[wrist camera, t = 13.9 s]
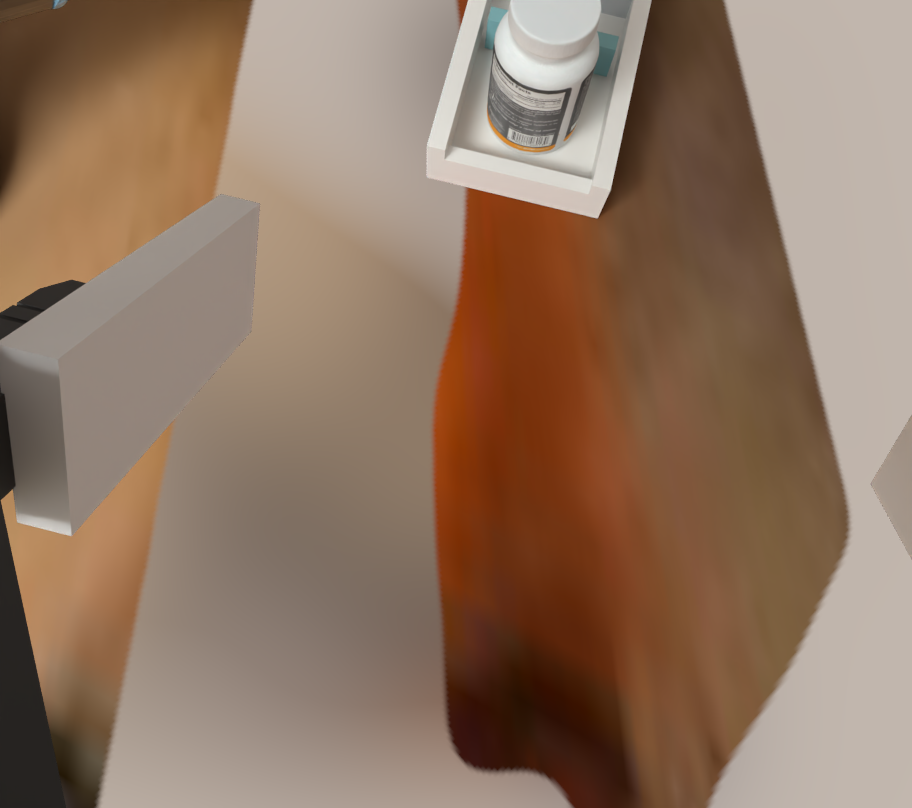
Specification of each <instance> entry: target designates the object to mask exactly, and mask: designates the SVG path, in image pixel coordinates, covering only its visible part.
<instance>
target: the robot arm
mask: <svg viewBox="0 0 912 808" xmlns="http://www.w3.org/2000/svg"><path fill="white" fill-rule="evenodd" d="M67 1H68V0H0V23H1V22H5V21H8V20H12V19H15V18H19V17H22V16H26V15H30V14H33V13H37V12H40V11H44V10H48V9H57V8H61V7H62V6H64V5H65V4H66V3H67ZM259 211H260V203H256V202H252V201H248V200H244V199H240V198H236V197H231V196H228V195H223V194H220V195H219V196H217V197H216V198H214V199H213V200H211V201H210V202H208V203H207V204H205V205H204V206H202V207H201V208H199V209H198V210H196V211H195V212H193V213H191V214H190V215H188V216H187V217H185V218H184V219H182V220H181V221H179V222H178V223H176V224H175V225H173V226H172V227H170V228H169V229H167V230H166V231H164V232H163V233H161V234H160V235H158V236H157V237H155V238H154V239H152V240H151V241H149V242H148V243H146V244H145V245H143V246H142V247H140V248H139V249H137V250H136V251H134V252H133V253H131V254H130V255H128V256H127V257H125V258H124V259H122V260H121V261H119V262H118V263H116V264H115V265H113V266H111V267H110V268H108V269H107V270H105V271H104V272H102V273H101V274H99V275H98V276H96V277H95V278H93V279H92V280H90V281H89V282H87V283H83V282H79V281H75V280H69V281H66V282H62V283H58V284H55V285H51V286H48V287H44V288H40V289H38V290H37V291H35V292H34V293H32V294H30V295H29V296H27V297H25V298H24V299H22V300H21V301H19V302H17V306H14V305H12V306H11V307H9V308H8V309H6V310H4V311H3V312H1V313H0V808H66V805H65V800H64V796H63V791H62V786H61V781H60V777H59V772H58V767H57V763H56V758H55V753H54V749H53V744H52V739H51V735H50V730H49V725H48V721H47V716H46V711H45V707H44V702H43V697H42V692H41V688H40V683H39V678H38V674H37V669H36V664H35V660H34V655H33V650H32V646H31V641H30V636H29V632H28V627H27V622H26V618H25V613H24V608H23V603H22V599H21V594H20V589H19V585H18V580H17V575H16V571H15V566H14V561H13V557H12V552H11V547H10V543H9V538H8V533H7V528H6V524H5V519H4V514H3V510H2V505H1V499H2V498H4V497H5V496H6V495H7V494H8V493H9V492H10V491H11V490H12V489H13V493H14V501H15V509H16V517H17V522H18V523H22V524H25V525H29V526H33V527H37V528H41V529H45V530H49V531H53V532H57V533H61V534H65V535H69V536H72V535H73V534H74V533H75V532H76V531H77V530H78V528H79V527H80V526H81V525H82V524H83V523H84V522H85V520H86V519H87V518H88V517H89V516H90V515H91V514H92V513H93V511H94V510H95V509H96V508H97V507H98V506H99V505H100V503H101V502H102V501H103V500H104V499H105V498H106V497H107V495H108V494H109V493H110V492H111V491H112V490H113V489H114V487H115V486H116V485H117V484H118V483H119V482H120V481H121V479H122V478H123V477H124V476H125V475H126V474H127V473H128V471H129V470H130V469H131V468H132V467H133V466H134V465H135V464H136V462H137V461H138V460H139V459H140V458H141V457H142V456H143V454H144V453H145V452H146V451H147V450H148V449H149V448H150V446H151V445H152V444H153V443H154V442H155V441H156V440H157V438H158V437H159V436H160V435H161V434H162V433H163V432H164V430H165V429H166V428H167V427H168V426H169V425H170V424H171V423H172V421H173V420H174V419H175V418H176V417H177V416H178V415H179V413H180V412H181V411H182V410H183V409H184V408H185V406H186V405H187V404H188V403H189V402H190V401H191V400H192V399H193V397H194V396H195V395H196V394H197V393H198V392H199V391H200V389H201V388H202V387H203V386H204V385H205V384H206V382H207V381H208V380H209V379H210V378H211V377H212V376H213V375H214V374H215V372H216V371H217V370H218V369H219V368H220V367H221V366H222V364H223V363H224V362H225V361H226V360H227V358H228V357H229V356H230V355H231V354H232V353H233V352H234V351H235V350H236V348H237V347H238V346H239V345H240V344H241V343H242V342H243V340H244V339H245V338H246V337H247V336H248V335H249V333H251V328H252V312H253V298H254V284H255V269H256V254H257V240H258V225H259V224H258V223H259ZM871 486H872V487H873V489H874V491H875V493H876V495H877V496H878V498H879V500H880V502H881V504H882V506H883V507H884V509H885V511H886V513H887V515H888V517H889V519H890V521H891V522H892V524H893V526H894V528H895V530H896V531H897V533H898V535H899V537H900V539H901V541H902V543H903V544H904V546H905V548H906V550H907V552H908V554H909V555H910V557H911V559H912V416H911V417H910V419H909V421H908V422H907V424H906V425H905V427H904V429H903V430H902V432H901V434H900V435H899V437H898V439H897V440H896V442H895V444H894V445H893V447H892V449H891V451H890V452H889V454H888V456H887V457H886V459H885V461H884V462H883V464H882V465H881V467H880V469H879V470H878V472H877V474H876V475H875V477H874V479H873V481H872V482H871Z"/></svg>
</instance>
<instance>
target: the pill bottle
mask: <svg viewBox="0 0 912 808" xmlns="http://www.w3.org/2000/svg"><path fill="white" fill-rule="evenodd" d="M600 16H601V0H510V4H509V11H508V12H507V13H506V14H505V15H504V16H503V18H502V20H501V21H500V23H499V25H498V28H497V30H496V33H495V38H494V45H493V56H492V64H491V72H490V81H489V90H488V98H487V120H488V124H489V127H490V129H491V131H492V133H493V134H494V136H495V137H496V138H497V140H498V141H500V142H501V143H502V144H503V145H504V146H506V147H507V148H509V149H511V150H513V151H515V152H518V153H521V154H526V155H540V154H547V153H549V152H552V151H554V150H556V149H558V148H559V147H561V146H562V145H563V144H564V143H566V142H567V140H568V139H569V138H570V137H571V135H572V133H573V132H574V129H575V127H576V125H577V122H578V119H579V116H580V112H581V109H582V106H583V103H584V100H585V97H586V94H587V91H588V88H589V85H590V82H591V79H592V75H593V72H594V69H595V66H596V63H597V60H598V56H599V37H598V33H597V28H598V24H599V20H600Z"/></svg>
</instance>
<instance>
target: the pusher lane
mask: <svg viewBox="0 0 912 808" xmlns="http://www.w3.org/2000/svg"><path fill="white" fill-rule="evenodd" d="M651 1H652V0H601V16H600V20H599V24H598V28H597V31H598V32H602V33H607V34H611V35H615V36H619V39H618V43H617V47H616V51H615V54H614V57H613V60H612V63H611V66H610V68H609V71H608V74H607V77H605V76H601V75H597V74H593V75H592V79H591V82H590V85H589V88H588V91H587V94H586V97H585V100H584V103H583V106H582V109H581V112H580V116H579V119H578V122H577V125H576V127H575V129H574V132H573V133H572V135H571V137H570V138H569V139H568V140H567V142H566V143H564V144H563V145H562V146H561V147H559V148H558V149H556V150H554V151H552V152H549V153H547V154H540V155H526V154H521V153H518V152H515V151H513V150H511V149H509V148H507V147H506V146H504V145H503V144H502V143H501V142H500V141H498V140H497V138H496V137H495V136H494V134H493V133H492V131H491V129H490V127H489V124H488V120H487V98H488V90H489V81H490V72H491V64H492V56H493V50H492V49H487V48H485V40H486V31H487V22H488V17H489V13H490V10H491V6H492V7H496V8H501V9H505V10H509V4H510V0H468V3H467V7H466V10H465V14H464V17H463V21H462V24H461V28H460V31H459V35H458V38H457V42H456V45H455V49H454V52H453V56H452V59H451V63H450V66H449V70H448V73H447V77H446V81H445V84H444V87H443V91H442V94H441V98H440V101H439V105H438V108H437V112H436V115H435V119H434V122H433V126H432V129H431V133H430V137H429V140H428V143H427V175H426V177H427V178H432V179H436V180H440V181H444V182H448V183H452V184H456V185H460V186H465V187H469V188H473V189H477V190H481V191H485V192H489V193H494V194H498V195H502V196H506V197H510V198H514V199H519V200H523V201H527V202H531V203H535V204H539V205H543V206H548V207H552V208H556V209H560V210H564V211H568V212H573V213H577V214H581V215H585V216H589V217H593V218H597V219H598V217H599V214H600V212H601V210H602V208H603V206H604V204H605V201H606V199H607V197H608V195H609V193H610V190H611V186H612V182H613V177H614V172H615V168H616V163H617V158H618V154H619V149H620V145H621V140H622V135H623V131H624V126H625V121H626V117H627V112H628V107H629V103H630V98H631V94H632V89H633V84H634V80H635V75H636V70H637V66H638V61H639V56H640V52H641V47H642V42H643V38H644V33H645V29H646V24H647V19H648V15H649V10H650V5H651Z"/></svg>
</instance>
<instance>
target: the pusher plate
mask: <svg viewBox="0 0 912 808" xmlns="http://www.w3.org/2000/svg"><path fill="white" fill-rule="evenodd" d="M508 11H509V10H505V9H501V8H496V7H492V6H491V10H490V13H489V17H488V22H487V31H486V40H485V48H487V49H492V50H493V45H494V38H495V33H496V30H497V28H498V25H499V23H500V21H501V20H502V18H503V16H504V15H505V14H506V13H507V12H508ZM597 33H598V37H599V56H598V60H597V63H596V66H595V69H594V72H593V74H597V75H601V76H605V77H607V74H608V71H609V68H610V66H611V63H612V60H613V57H614V54H615V51H616V47H617V43H618V39H619V36H615V35H611V34H607V33H602V32H598V31H597Z"/></svg>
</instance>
